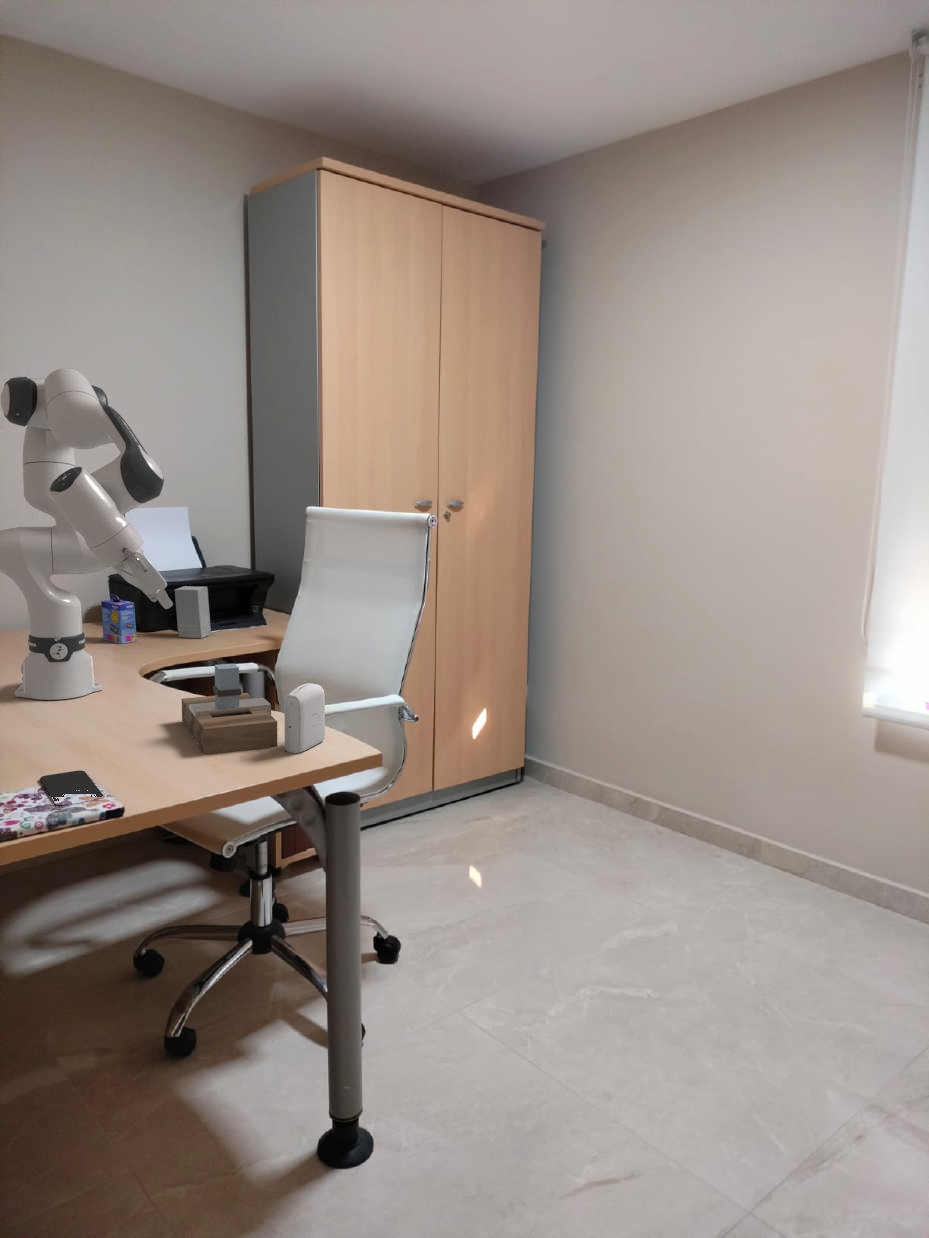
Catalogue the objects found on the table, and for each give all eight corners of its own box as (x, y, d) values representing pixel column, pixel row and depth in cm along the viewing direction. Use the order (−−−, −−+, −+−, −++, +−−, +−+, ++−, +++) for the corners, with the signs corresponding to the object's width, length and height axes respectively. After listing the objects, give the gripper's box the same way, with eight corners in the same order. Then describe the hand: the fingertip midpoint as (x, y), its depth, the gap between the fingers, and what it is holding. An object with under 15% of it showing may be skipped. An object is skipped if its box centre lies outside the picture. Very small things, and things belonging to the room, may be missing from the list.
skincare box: (211, 635, 287) (210, 586, 284) (199, 639, 280) (198, 589, 277) (187, 633, 289) (186, 584, 286) (175, 637, 282) (174, 587, 279)
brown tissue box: (182, 721, 192) (181, 698, 191) (247, 714, 198) (247, 692, 198) (204, 754, 171) (204, 728, 170) (277, 745, 177) (277, 721, 177)
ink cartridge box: (101, 640, 275) (99, 593, 273) (117, 637, 279) (116, 591, 277) (120, 644, 269) (119, 596, 267) (137, 641, 274) (135, 594, 271)
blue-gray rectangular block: (213, 702, 185) (212, 664, 183) (236, 700, 187) (235, 663, 186) (218, 708, 181) (217, 669, 179) (241, 706, 183) (240, 667, 181)
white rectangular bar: (189, 723, 184) (189, 704, 183) (263, 716, 191) (263, 697, 190) (195, 731, 179) (194, 711, 178) (271, 723, 185) (271, 704, 185)
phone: (56, 804, 143) (38, 776, 155) (56, 809, 143) (38, 780, 155) (105, 796, 147) (83, 769, 160) (105, 801, 148) (84, 773, 160)
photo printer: (300, 755, 172) (300, 692, 170) (281, 751, 174) (281, 689, 172) (327, 740, 182) (328, 680, 180) (309, 737, 183) (309, 678, 181)
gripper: (146, 541, 164) (191, 600, 171) (120, 533, 181) (162, 587, 187) (117, 562, 162) (163, 621, 168) (94, 551, 179) (137, 605, 185)
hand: (162, 603), depth 178 cm, fingers open, 8 cm apart
